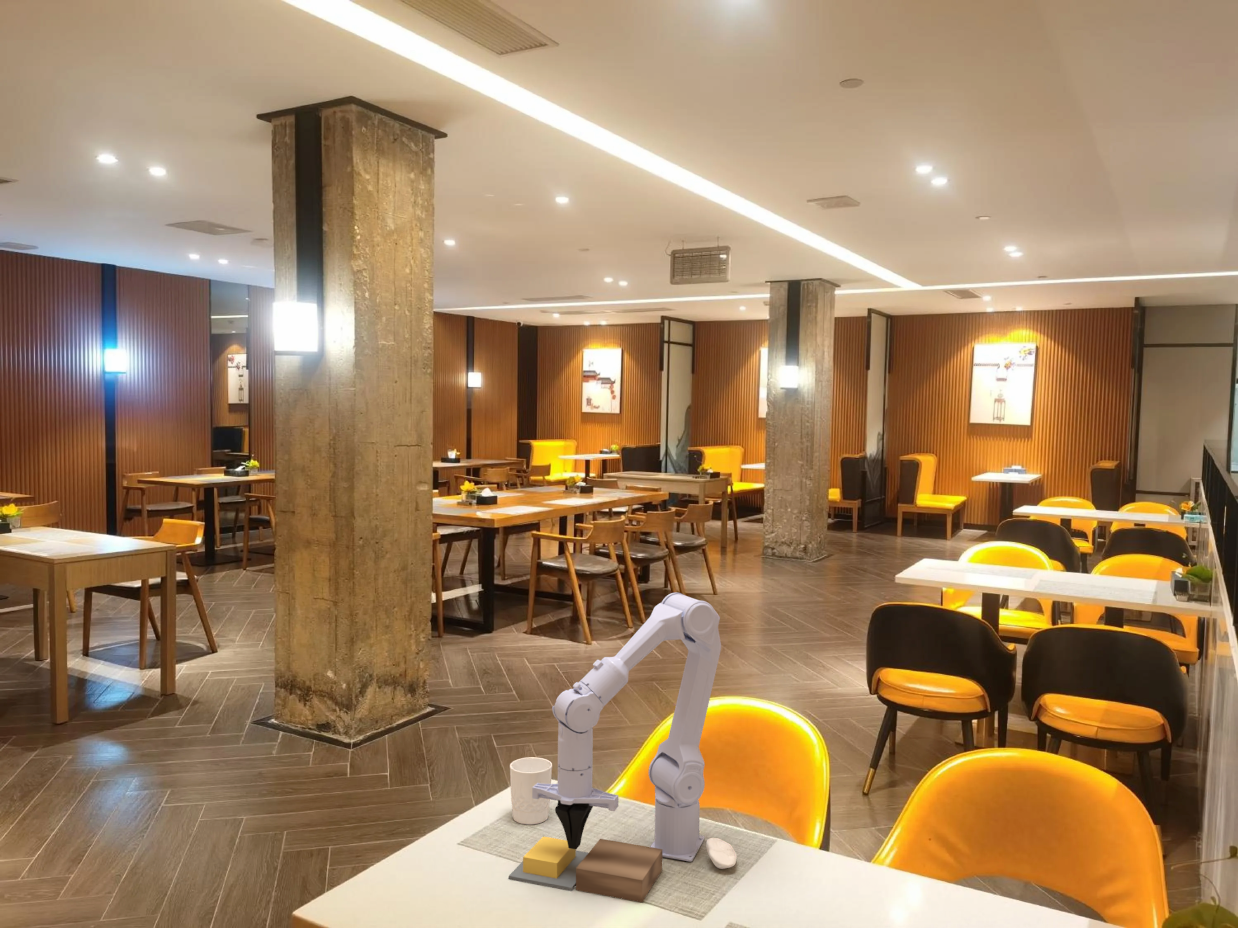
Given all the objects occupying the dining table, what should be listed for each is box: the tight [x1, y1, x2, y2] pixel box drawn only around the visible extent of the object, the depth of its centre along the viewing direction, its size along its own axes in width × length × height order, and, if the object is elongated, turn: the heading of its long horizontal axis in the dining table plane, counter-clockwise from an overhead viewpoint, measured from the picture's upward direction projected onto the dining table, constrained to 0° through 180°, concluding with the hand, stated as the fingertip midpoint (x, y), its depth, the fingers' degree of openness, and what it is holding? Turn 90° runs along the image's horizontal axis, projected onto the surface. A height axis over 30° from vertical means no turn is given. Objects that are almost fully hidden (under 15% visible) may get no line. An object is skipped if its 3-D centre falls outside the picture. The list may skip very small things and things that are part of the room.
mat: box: [508, 849, 589, 892], centre depth 149 cm, size 12×11×1 cm
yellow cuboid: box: [522, 836, 577, 878], centre depth 149 cm, size 8×6×2 cm
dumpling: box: [705, 837, 738, 870], centre depth 150 cm, size 7×5×4 cm
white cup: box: [509, 756, 553, 825], centre depth 168 cm, size 8×8×10 cm
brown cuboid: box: [575, 838, 663, 903], centre depth 145 cm, size 11×11×4 cm
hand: (574, 845), depth 147 cm, fingers closed
